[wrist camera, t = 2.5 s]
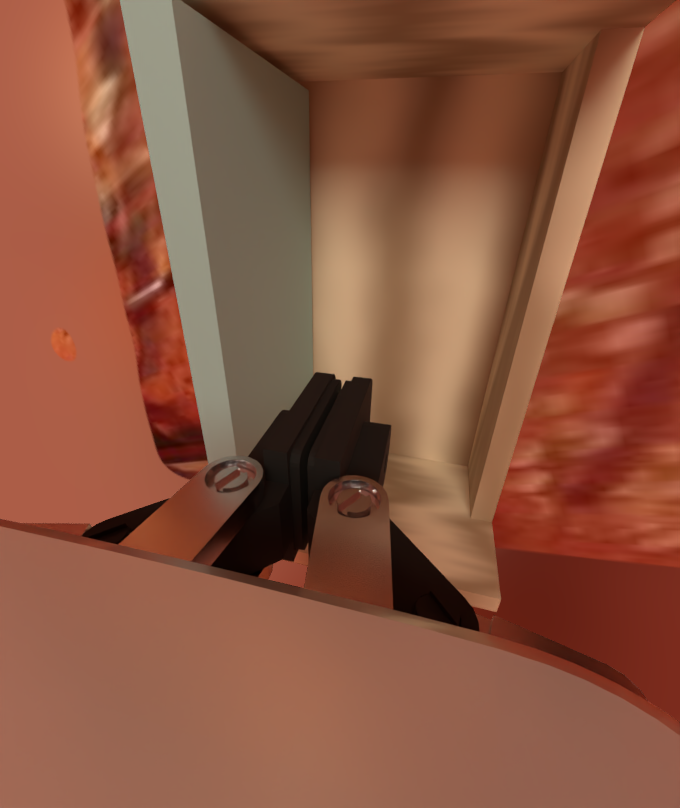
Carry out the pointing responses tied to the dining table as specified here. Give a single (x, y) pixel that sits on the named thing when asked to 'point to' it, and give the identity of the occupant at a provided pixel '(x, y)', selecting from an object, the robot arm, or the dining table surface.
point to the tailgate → (229, 214)
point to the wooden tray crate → (446, 221)
